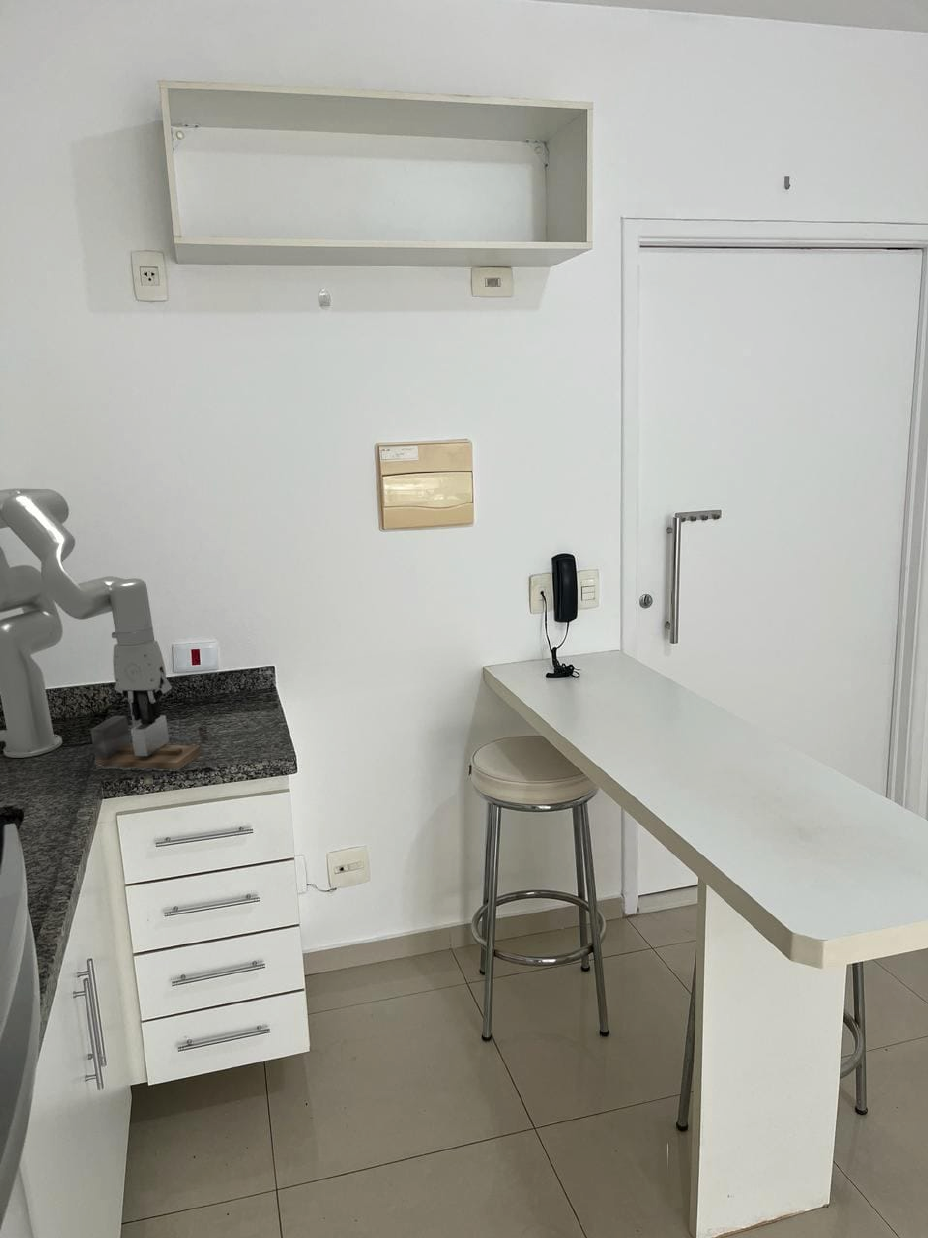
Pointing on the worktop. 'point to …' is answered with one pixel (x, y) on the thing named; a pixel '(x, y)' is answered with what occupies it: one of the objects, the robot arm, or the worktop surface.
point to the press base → (118, 750)
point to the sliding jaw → (148, 729)
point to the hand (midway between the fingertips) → (147, 717)
